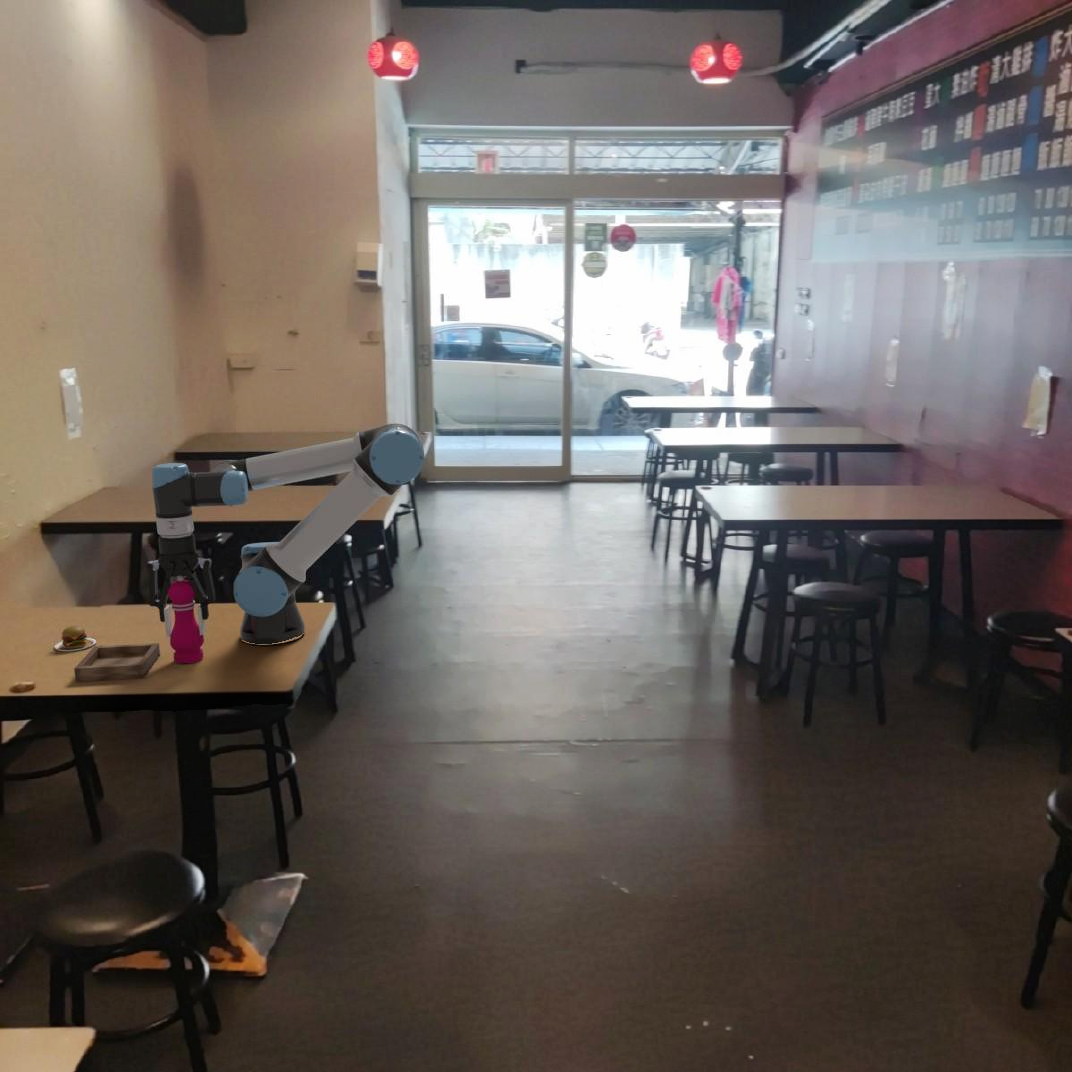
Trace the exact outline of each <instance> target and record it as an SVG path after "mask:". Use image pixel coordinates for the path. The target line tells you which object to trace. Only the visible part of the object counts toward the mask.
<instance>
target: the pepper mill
mask: <svg viewBox="0 0 1072 1072" xmlns="http://www.w3.org/2000/svg"><path fill="white" fill-rule="evenodd" d="M175 578H176V580H175V581H172V584H171V585H170V586H169V589H168V598H169V600H170V601H171V604H170V606H171V610H172V611H173V612H174V625H173V626H172V629H173V630H172V633H171V636H170V637H169V644H170V647H171V649H173V650H174V652H173V662H175V663H176V662H177V664H180V663H188V664H194V663H197V662H199V661H201V660H203V658H204V650H203V648H201V647H202V646H203V645H204V643H205V638H204V637H205V636H204V635H200V630H199V623H198V622H197V620H196V617H195V607H196V601H195V599H194V598H196V594H195V592H194V590H193V588H192V586H191V584H190V582H189V580H188V579H186V576H180V575H179V576H175ZM193 662H194V663H193Z"/></svg>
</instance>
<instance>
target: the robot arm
mask: <svg viewBox="0 0 1072 1072" xmlns="http://www.w3.org/2000/svg"><path fill="white" fill-rule="evenodd" d="M424 462H425V451H424V447H423V444H422V442H421V440H420V439H419V436H418V435H417V433H416V432H415V431H414V430H413V429H412V428H411V427H409V426H407V425H405V424H402V423H389V424H385V425H384V424H383V425H381V426H378V427H375V428H371V429H368V430H364V431H358V432H356V433H355V435H354V436H353V437H351V438H345V439H341V440H335V441H330V442H324V443H320V444H315V445H309V446H305V447H299V448H294V449H293V448H292V449H290V450H285V451H279V452H274V453H270V454H269V453H268V454H264V455H258V456H253V457H248V458H245V459H239V460H229V459H228V460H224V461H220V462H219V463H218V464H216V465H215V466H214V467H213V469H212V470H211V471H207V472H206V471H202V472H191V471H190V469H189V467H188V465H187V464H185V463H182V462H170V463H168V462H167V463H162V464H157V465H155V466H154V467H153V468H152V469H151V480H152V486H151V489H152V493H153V495H152V496H153V501H154V502H153V504H154V509H155V520H156V521H155V522H156V530H157V534H158V535H159V536H158V540H157V541H158V549H159V550H158V551H159V557H158V559H157V560H156V559H155V560H150V561H148V562H147V563H146V564H145V568H146V570H147V572H148V594H149V595H148V597H149V599H148V602H149V603H148V604H149V606H150V607H156V608H157V609H158V613H159V620H160V621H159V622H161V623H164V625H165V626H164V627H165V633H166V635H165V636H166V638H170V637H171V633H172V630H173V621H172V619H173V618H172V612H171V610H172V609H171V604H169V605H167V603H168V598H169V597H168V589H169V586H170V585H171V584H172V583H173V579H174V577H175V578H176V577H177V576H179V575H180V576H185V578H186V580H188V581H189V582H190V584H191V586H192V588H193V590H194V592H195V594H196V596H195V598H196V599H197V601H198V603H199V604H198V605H197V607H196V609H197V617H198V618H197V619H198V626H199V630H200V635H203V636H204V635H205V633H206V632H207V629H206V622H205V621H206V620H208V619H209V616H210V612H209V605H210V604H213V603H215V601H216V599H217V596H216V590H215V586H214V579H213V575H212V574H213V573H212V570H211V567H212V562H213V561H212V558H210V557H208V558H203V557H199V555H198V553H197V547H196V538H195V536H196V535H195V534H194V533H193V532H194V531H195V525H194V517H193V509H192V508H198V507H199V508H200V507H201V508H202V507H225V506H227V507H234V506H239V505H244V504H246V503H247V502H248V497H249V492H252V491H256V490H260V489H265V488H266V489H267V488H272V487H276V486H282V485H286V484H291V483H298V482H302V481H307V480H312V479H317V478H321V477H327V476H331V475H332V476H333V475H337V474H343V473H347V472H349V473H348V474H347V475H346V476H345V477H344V478H343V479H342V480H341V481H340V482H339V483H338V484H336V486H335V487H334V488H333V489H332V490H331V491H330V492H328V494H326V496H325V497H324V498H322V500H320V502H319V503H318V504H316V505H315V506H314V508H312V510H311V511H310V512H309V513H307V514H306V516H305V517H303V519H301V521H299V522H298V524H296V525H295V526H294V527H293V528H292V530H290V531H289V532H288V533H287V535H285V536H284V537H283V539H282V540H280V541H272V542H271V541H270V542H254V543H248V544H246V545H245V544H244V546H242V548H241V549H240V550H241V554H240V558H241V561H242V564H241V568H240V570H239V572H238V574H237V576H236V578H235V579H234V581H233V596H234V600H235V603H236V604H237V606H238V607H239V608H240V609H241V610H243V611H244V613H243V617H242V619H241V620H242V621H241V625H240V629H239V633H240V640H241V639H242V640H244V641H246V642H249V643H255V644H272V643H278V642H282V641H286V640H289V639H292V638H294V637H298V636H300V635H302V634H303V633H304V631H305V632H306V626H305V622H304V619H303V617H302V615H301V612H300V610H299V607H298V605H297V603H296V600H297V599H296V591H297V589H298V588H300V587H301V585H302V584H304V582H305V581H306V579H307V578H306V572H307V570H308V569H309V568H310V567H311V566H312V565H313V564H315V562H316V561H317V560H318V559H320V557H321V556H323V554H325V552H326V551H327V550H328V549H329V548H330V547H332V545H333V544H334V543H335V542H337V541H338V540H339V538H341V537H342V535H344V534H345V532H347V531H348V529H350V528H351V527H352V526H353V525H354V524H355V523H356V522H357V521H358V520H359V519H360V518H361V517H362V516H363V515H364V514H365V513H366V512H367V511H368V510H369V509H370V508H372V506H374V504H375V503H376V502H377V501H378V500H379V499H380V498H382V497H392V496H393V495H394V494H395V493H396V492H397V491H398V490H399V489H400V488H401V487H402V486H403V485H405V484H407V483H409V482H410V481H413V480H414V479H415V478H416V477H417V476H418V475H419V473H420V472H421V470H422V468H423V465H424ZM197 564H199V567H200V568H201V569H202V575H203V580H204V586H205V591H206V593H205V591H204V589H203V587H202V585H201V582H200V580H199V578H198V576H197V574H196V573H197V572H196V571H195V567H196V566H197ZM159 567H161V568H163V570H164V571H165V577H164V582H163V586H162V589H161V593H160V596H159V598H158V593H159V592H158V591H159V589H158V587H159V586H158V570H159ZM206 594H207V595H206ZM242 640H241V641H242Z"/></svg>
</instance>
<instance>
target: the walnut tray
mask: <svg viewBox="0 0 1072 1072" xmlns="http://www.w3.org/2000/svg"><path fill="white" fill-rule="evenodd" d="M159 656H160V657H161V651H160V642H157V643H156V642H155V643H154V642H153V643H136V644H135V643H134V644H118V645H116V644H115V645H97V646H96V645H95V646H94V645H93V647H92V649H91V650H89V652H88V653H87V654H86V655H85V656H84V657H83V658H82V659H81V660H80V662H79V663H78V664H77V665H76V666H75V667H74V668H73V670H74V676H75V677H74V678H75V682H76V683H81V682H96V681H97V682H99V681H114V680H115V681H116V680H132V679H133V680H135V679H145V678H146V677H147V675H148V674H149V672H150V671H151V669H152V668H153V667H154V665H155V664H156V662H157V661H158V660H159V658H160V657H159ZM158 657H159V658H158ZM154 663H155V664H154ZM152 666H153V667H152ZM149 670H150V671H149Z"/></svg>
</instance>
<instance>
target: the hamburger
mask: <svg viewBox="0 0 1072 1072" xmlns="http://www.w3.org/2000/svg"><path fill="white" fill-rule="evenodd" d="M60 639H61V640H62V641H60V642H57V643H56V644H55V645H54V649H55V650H58V651H60V652H76V651H82V650H86V649H89V648H91V647H92V646H94V645H95V644H97V640H95V639H94V638H91V637H88V636H87V633H86V630H85V629H84V628H83V627H82V626H78V625H71V626H70V625H69V626H68V627H65V628H64V629H63V631H62V632H61V636H60ZM87 642H90V643H92V644H91V645H88V646H87V647H85V646H86V644H87ZM59 646H60V647H61V646H63V647H64V648H65V649H60V647H59Z"/></svg>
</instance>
